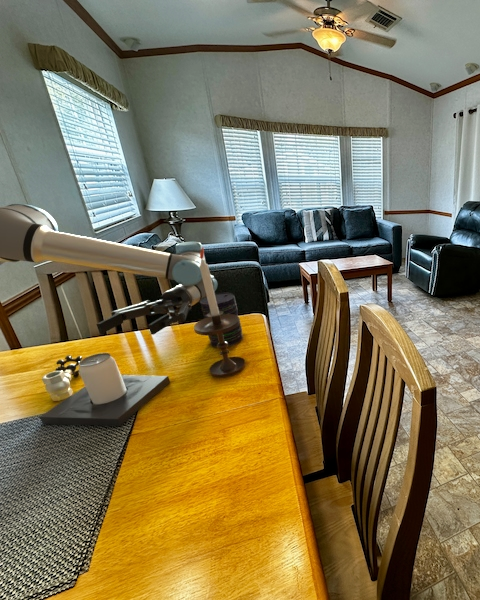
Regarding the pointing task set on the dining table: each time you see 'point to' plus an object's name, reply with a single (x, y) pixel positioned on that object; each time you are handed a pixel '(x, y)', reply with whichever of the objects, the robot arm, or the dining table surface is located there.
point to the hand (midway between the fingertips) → (125, 329)
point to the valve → (61, 379)
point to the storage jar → (228, 307)
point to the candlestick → (218, 328)
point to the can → (102, 378)
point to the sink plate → (106, 404)
